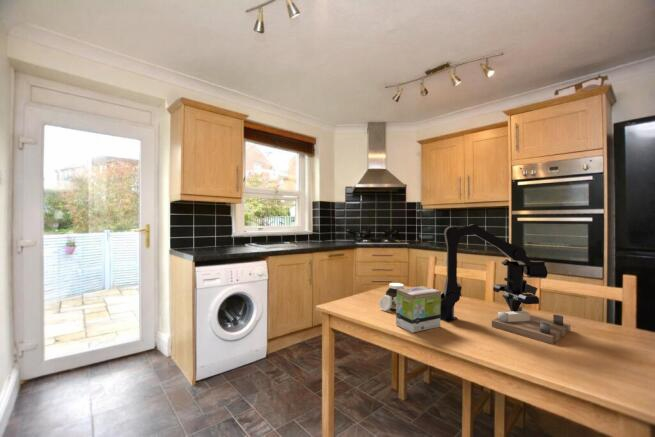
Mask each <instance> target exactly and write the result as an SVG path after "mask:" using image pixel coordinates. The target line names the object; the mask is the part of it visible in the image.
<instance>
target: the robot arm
mask: <svg viewBox="0 0 655 437" xmlns="http://www.w3.org/2000/svg"><path fill="white" fill-rule="evenodd" d="M443 232H444V233H443V234H444V240H445V245H446V281H445V284H444V287H443V292H441V308H440V310H441V313H440V320H442V321H444V322H445V321H446V322H453V321H455V320H458V317H457V316H455V305H456V304H457V302H458V301H460V299H461V297H462V296H463V295H462V289H463V288H462V285H461V284H460V283H458V281H457V280H458V275H457V274H458V270H457V269H458V247H459V244H460V239H461V237H466V236H470V235H474V236H476V237H478V238H479V239H481V240H483V241H485V242H486V243H488V244H490V245H491V246H493V247H494V248H497V249H498V250H499V251H500V252H501V253H502V254H503V255H504V256H506V257H508V258H506V259H505V260H503V261H502V262H501V265H502V266H504V267H505V266H506V277H504V281H505V282H506V284H504V283H502V284H494V285H493V287H492V291H493V292H495V293H499V292H503V293H504V294H503V295H502V297H503V298H504V300H505V302H506V304H507V306H508V307H509V309H510V311H517V310H518V308H519V306H520V307H521V304H523V305H539V304H540V298H539V296H537V295H536V294H537V291H538V287H535V286H533V285H530V284H528V282H527V280H526V279H524V276H525V275H526V277H527V278H529V279H531V278H532V279H546V278H547V277H548V274H549V273H548V272H549V271H548V269H547V265H546V262H545V261H543V260H537V261H536V260H535V261H534V260H530V258H529V257H528V256H527V251H526V250H525V249H524V248H523V247H521V246H519V245H515V244H513V243H511V242H508V241H505V240H503V239H501V238H499V237H498V236H496V235H494V234H493V233H490V232H489V231H487V230H485V229H484V228H482V227H480V226H479V225H478V224H475V223H470V224H469V225H462V226H457V227H456V226H447V227H446V228H445V229H444V231H443ZM509 259H511V260H512V261H511V260H509ZM520 262H521V263H520Z"/></svg>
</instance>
